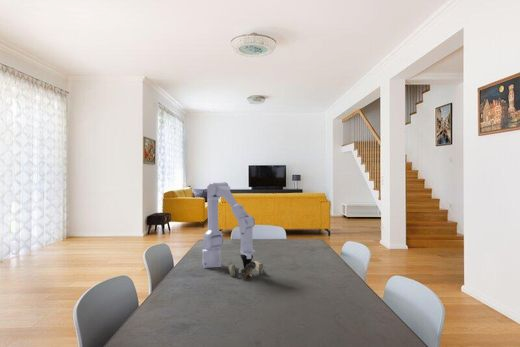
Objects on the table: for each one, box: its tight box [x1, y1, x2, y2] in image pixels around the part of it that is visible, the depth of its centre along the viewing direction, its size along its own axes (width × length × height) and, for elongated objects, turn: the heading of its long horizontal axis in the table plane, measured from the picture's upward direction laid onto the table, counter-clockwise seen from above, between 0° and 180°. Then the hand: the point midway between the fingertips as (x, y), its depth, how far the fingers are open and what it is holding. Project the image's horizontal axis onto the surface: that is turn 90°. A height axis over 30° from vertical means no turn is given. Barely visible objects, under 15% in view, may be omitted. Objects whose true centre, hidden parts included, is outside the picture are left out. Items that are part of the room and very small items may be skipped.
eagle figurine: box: [238, 261, 256, 280], centre depth 146 cm, size 8×7×9 cm
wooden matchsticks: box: [227, 260, 264, 278], centre depth 154 cm, size 16×14×5 cm
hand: (246, 270), depth 149 cm, fingers closed
